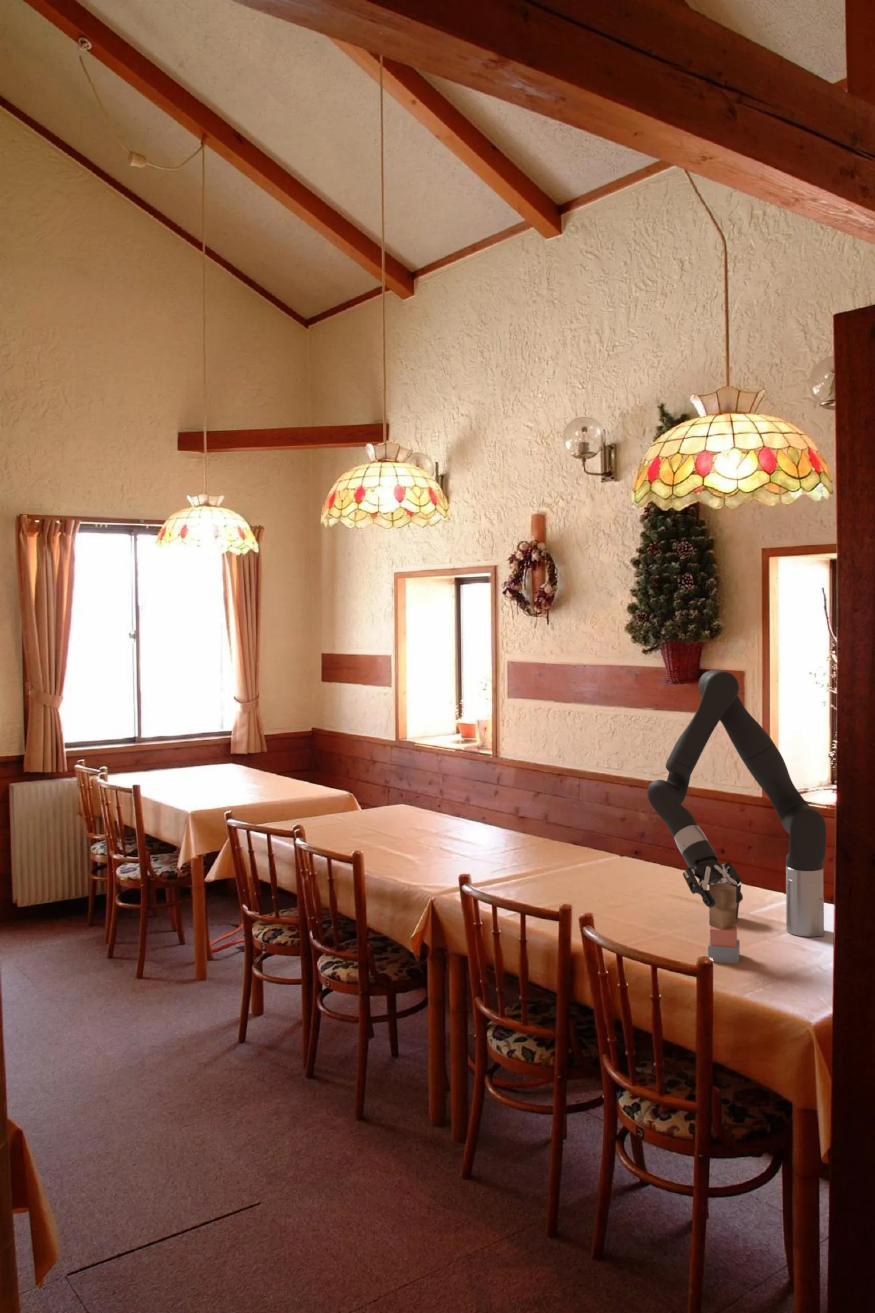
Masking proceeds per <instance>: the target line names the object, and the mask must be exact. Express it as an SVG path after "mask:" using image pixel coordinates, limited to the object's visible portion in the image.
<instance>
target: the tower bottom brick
mask: <svg viewBox="0 0 875 1313" xmlns="http://www.w3.org/2000/svg"><path fill="white" fill-rule="evenodd" d="M740 953H741V951H740V938H737V944H736V947H724V946H711V945H710V939H709V941H708V944H707V955H708V957H711V958H713V960H714V961H715V962H714V963H722V964H723V963H725V964H736V965H739V962H740V956H741V955H740ZM708 957H707V958H708Z"/></svg>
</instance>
